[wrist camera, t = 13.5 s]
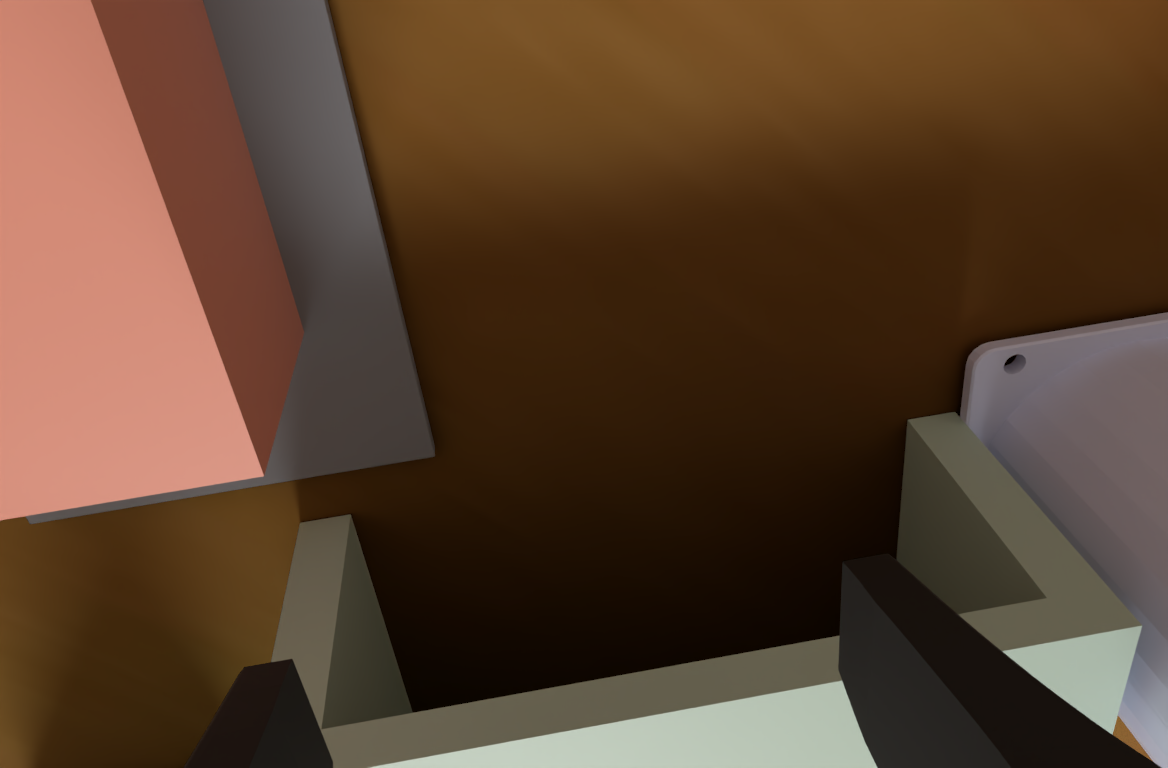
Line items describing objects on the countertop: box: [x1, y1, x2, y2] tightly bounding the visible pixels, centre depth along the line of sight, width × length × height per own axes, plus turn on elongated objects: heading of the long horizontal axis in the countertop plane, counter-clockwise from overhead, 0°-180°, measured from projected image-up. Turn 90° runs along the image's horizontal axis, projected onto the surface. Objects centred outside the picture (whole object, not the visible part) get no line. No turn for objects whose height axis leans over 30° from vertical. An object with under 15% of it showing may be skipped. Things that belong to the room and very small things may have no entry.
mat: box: [26, 0, 435, 524], centre depth 16 cm, size 9×18×1 cm, turn 6°
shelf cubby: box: [271, 412, 1142, 768], centre depth 22 cm, size 16×9×7 cm, turn 96°
